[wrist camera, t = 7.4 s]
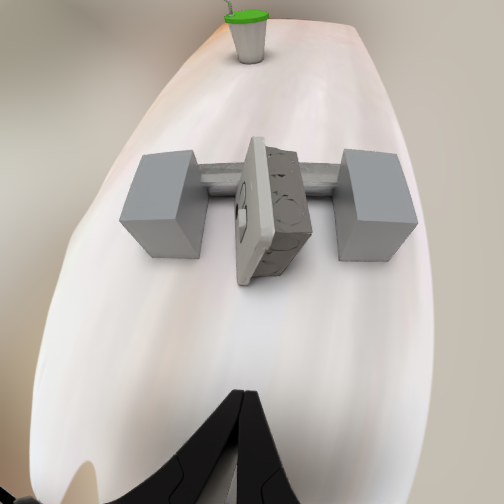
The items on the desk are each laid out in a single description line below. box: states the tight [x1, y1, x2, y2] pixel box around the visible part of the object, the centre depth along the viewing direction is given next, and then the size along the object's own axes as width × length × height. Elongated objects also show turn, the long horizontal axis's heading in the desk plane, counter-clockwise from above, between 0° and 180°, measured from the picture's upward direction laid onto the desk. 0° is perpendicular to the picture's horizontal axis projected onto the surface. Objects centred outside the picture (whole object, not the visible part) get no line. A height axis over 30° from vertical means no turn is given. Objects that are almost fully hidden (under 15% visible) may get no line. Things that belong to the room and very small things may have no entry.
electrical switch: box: [235, 137, 312, 285], centre depth 22 cm, size 9×5×9 cm, turn 3°
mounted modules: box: [119, 149, 418, 261], centre depth 24 cm, size 7×23×7 cm, turn 87°
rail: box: [198, 162, 341, 196], centre depth 27 cm, size 2×24×4 cm, turn 87°
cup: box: [224, 0, 269, 64], centre depth 37 cm, size 8×8×15 cm
